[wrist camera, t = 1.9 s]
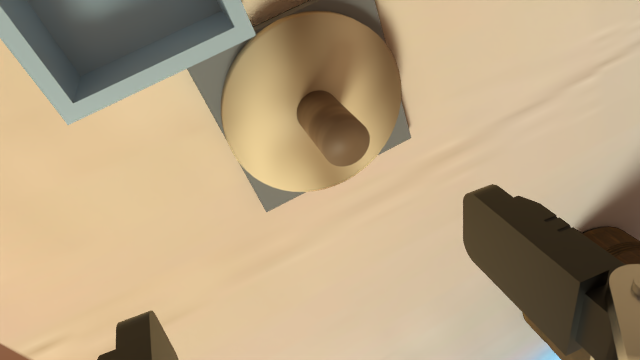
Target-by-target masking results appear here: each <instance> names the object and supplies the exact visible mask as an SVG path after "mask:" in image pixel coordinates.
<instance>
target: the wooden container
mask: <svg viewBox="0 0 640 360" xmlns="http://www.w3.org/2000/svg"><path fill="white" fill-rule="evenodd" d="M583 235H585V236H586V237H587V238H589V239H590V240H592V241H593V242H594V243H596V244H597V245H599V246H600V247H601V248H603V249H604V250H606V251H607V252H608V253H610V254H611V255H613V256H614V257H615V258H617V259H618V260H620V261H621V262H622V263H624V264H626V265H629V264H640V241H638V240H637V239H635V238H634V237H632V236H631V235H629V234H627V233H626V232H624V231H623V230H621V229H619V228H615V227H602V228H597V229H593V230H590V231H587V232H585V233H583ZM523 316H524V319H525V321H526V322H527V323H528V324H529V325H530V326H531V328H532V329H533V330H534V331H535V332H536V333H537V334H538V335H539V336H540V337H541V338H542V339H543V340H544V341H545V342H546V343H547V344H548V345H549V346H550V348H551V349H552V350H553V351H554V352H555V353H556V354H557V355H558V356H559V358H560V359H561V360H590V357H591V355H590V354H589V353H588V352H587V351H586V350H585V349H584V348H582V349H580V350H578V351H575V352H573V353H571V354H569V355H567V356H565V355H564V354H563V353H562V352H561V351H560V350H559V349H558V347H557V346H556V345H555V344H554V343H553V342H552V341H551V340H550V339H549V338H548V337H547V336H546V335H545V334H544V333H543V332H542V331H541V330H540V329H539V328H538V327H537V326H536V325H535V324H534V323H533V322H532V321H531V320H530V319H529V318H528V317H527V316H526V315H525V314H524V313H523Z"/></svg>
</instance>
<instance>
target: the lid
mask: <svg viewBox="0 0 640 360" xmlns="http://www.w3.org/2000/svg"><path fill="white" fill-rule="evenodd" d="M400 105H401V79H400V74H399V70H398V67H397V64H396V61H395V59H394V57H393V55H392V53H391V51H390V49H389V48H388V46H387V45H386V43H385V42H384V41H383V40H382V39H381V38H380V37H379V36H378V35H377V33H375V32H374V31H373V30H371V29H370V28H369V27H367V26H366V25H364V24H362V23H360V22H358V21H356V20H355V19H353V18H351V17H348V16H345V15H342V14H340V13H335V12H330V11H307V12H300V13H296V14H292V15H289V16H286V17H284V18H281V19H279V20H277V21H275V22H273V23H271V24H270V25H268V26H266V27H265V28H264V29H262V30H261V31H260V32H258V33H257V34H256V36H254V37H252V38H251V39H250V40H249V41H248V42H247V43H246V44H245V46H244V47H243V48H242V50H241V51H240V52H239V53H238V55H237V56H236V58H235V60H234V61H233V63H232V65H231V67H230V69H229V71H228V74H227V76H226V79H225V82H224V86H223V89H222V96H221V120H222V126H223V130H224V133H225V136H226V139H227V141H228V144H229V146H230V148H231V150H232V152H233V154H234V156H235V157H236V159H237V160H238V162H239V163H240V164H241V165H242V167H243V168H244V169H245V170H246V171H247V172H248V173H250V174H251V175H252V176H253V177H254V178H256V179H258V180H259V181H261V182H262V183H264V184H267V185H269V186H271V187H274V188H277V189H281V190H285V191H292V192H310V191H317V190H322V189H326V188H329V187H332V186H335V185H337V184H340V183H342V182H344V181H346V180H348V179H349V178H351V177H353V176H355V175H356V174H357V173H359V172H360V171H361V170H363V169H364V168H365V167H366V166H367V165H368V164H369V163H371V162H372V160H373V159H374V158H375V157H376V156H377V155H378V154H379V153H380V151H381V150H382V148H383V147H384V146H385V144H386V142H387V141H388V139H389V137H390V136H391V133H392V131H393V129H394V127H395V124H396V121H397V118H398V115H399V110H400Z"/></svg>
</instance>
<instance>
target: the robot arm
mask: <svg viewBox="0 0 640 360" xmlns="http://www.w3.org/2000/svg"><path fill="white" fill-rule="evenodd" d="M463 241H464V246H465V248H466V251H467V253H468V255H469V257H470V258H471V259H472V261H473V262H474V263H475V264H476V265H477V266H478V267H479V268H480V269H481V270H482V271H483V272H484V273H485V274H486V275H487V276H488V277H489V278H490V279H491V280H492V281H493V282H494V283H495V284H496V285H497V286H498V287H499V288H500V289H501V290H502V291H503V292H504V294H505V295H506V296H507V297H508V298H509V299H510V300H511V301H512V302H513V303H514V304H515V305H516V306H517V307H518V308H519V309H520V310H521V311H522V312H523V313H524V314H525V315H526V316H527V317H528V318H529V319H530V320H531V321H532V322H533V323H534V324H535V325H536V326H537V327H538V328H539V329H540V330H541V331H542V332H543V333H544V334H545V335H546V336H547V337H548V338H549V339H550V340H551V341H552V342H553V343H554V344H555V345H556V346H557V347H558V349H559V350H560V351H561V352H562V353H563V354H564V355H565V356H567V355H569V354H571V353H573V352H575V351H578V350H580V349H582V348H584V349H585V350H586V351H587V352H588V353H589V354H590V355H591V357H590V360H640V264H629V265H626V264H624V263H622V262H621V261H620V260H618V259H617V258H615V257H614V256H613V255H611V254H610V253H608V252H607V251H606V250H604V249H603V248H601V247H600V246H599V245H597V244H596V243H594V242H593V241H592V240H590V239H589V238H587V237H586V236H585V235H583V234H582V233H580V232H579V231H578V230H576V229H575V228H571V227H570V225H569V224H568V223H566V222H565V221H564V220H562V219H561V218H557V217H556V215H555V214H554V213H552V212H551V211H550V210H548V209H547V208H545V207H544V206H543V205H541V204H540V203H537V202H534V201H532V200H529V199H526V198H523V197H521V196H516V197H514V198H513V197H512V196H511V195H509V194H508V193H507V192H505V191H504V190H503V189H501V188H500V187H499V186H497V185H493V184H492V185H489V186H486V187H483V188H481V189H478V190H475V191H473V192H470V193H467V194H466V195H465V196H464V199H463ZM97 360H178V357H177V355H176V352H175V350H174V348H173V347H172V345H171V343H170V341H169V339H168V337H167V335H166V333H165V332H164V330H163V328H162V326H161V324H160V322H159V320H158V318H157V317H156V315H155V313H154V312H153V311H149V312H146V313H143V314H141V315H138V316H135V317H133V318H130V319H127V320H125V321H122V322H119V323H118V324H117V327H116V349H115V350H113V351H110V352H107V353H105V354H102V355H100V356H99V357H98V359H97Z"/></svg>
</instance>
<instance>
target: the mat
mask: <svg viewBox="0 0 640 360" xmlns="http://www.w3.org/2000/svg"><path fill="white" fill-rule="evenodd" d="M307 11H330V12H335V13H340V14H342V15H345V16H348V17H351V18H353V19H355V20H356V21H358V22H360V23H362V24H364V25H366V26H367V27H369V28H370V29H371V30H373V31H374V32H375V33H377V35H378V36H379V37H380V38H381V39H382V40H383V41H384V42H385V38H384V34H383V30H382V27H381V23H380V19H379V15H378V12H377V8H376V4H375V0H310V1H307V2H305V3H303V4H301V5H299V6H297V7H295V8H293V9H291V10H288V11H286V12H284V13H282V14H280V15H278V16H276V17H274V18H272V19H269V20H267V21H265V22H263V23H261V24H259V25H257V26H255V27H253V29H254V31H255V34H257V33H258V32H260V31H261V30H262V29H264V28H265V27H266V26H268V25H270V24H271V23H273V22H275V21H277V20H279V19H281V18H284V17H286V16H289V15H292V14H296V13H300V12H307ZM250 39H251V38H250ZM250 39H248V40H246V41H244V42H242V43H240V44H237V45H235V46H233V47H231V48H229V49H227V50H225V51H223V52H221V53H218V54H216V55H214V56H212V57H210V58H208V59H206V60H204V61H202V62H200V63H197V64H195V65H193V66H191V67H189V68H187V70H188V71H189V73H190V75H191V77H192V79H193V80H194V82H195V84H196V86H197V88H198V89H199V91H200V93H201V95H202V97H203V98H204V100H205V102H206V104H207V106H208V107H209V109H210V111H211V113H212V115H213V116H214V118H215V120H216V122H217V124H218V126H219V127H220V129H221V131H222V133H223V135H224V136H225V133H224V130H223V126H222V120H221V96H222V89H223V86H224V82H225V79H226V76H227V74H228V71H229V69H230V67H231V65H232V63H233V61H234V60H235V58H236V56H237V55H238V53H239V52H240V51H241V50H242V48H243V47H244V46H245V44H246V43H247V42H248V41H249V40H250ZM385 43H386V42H385ZM225 138H226V136H225ZM410 138H411V135H410V132H409V128H408V124H407V120H406V117H405V113H404V109H403V105H402V102H401V105H400V110H399V115H398V118H397V121H396V124H395V127H394V129H393V131H392V133H391V136H390V137H389V139H388V141H387V142H386V144H385V146H384V147H383V148H382V150H381V151H380V153H379V154H381V153H383V152H385V151H387V150H389V149H391V148H393V147H395V146H397V145H399V144H400V143H402V142H404V141H406V140H408V139H410ZM226 140H227V139H226ZM227 142H228V141H227ZM379 154H378V155H379ZM240 165H241V164H240ZM241 167H242V165H241ZM242 169H243V171H244V173H245V174H246V176H247V178H248V180H249V182H250V183H251V185H252V187H253V189H254V191H255V192H256V194H257V196H258V198H259V200H260V201H261V203H262V205H263V207H264V209H265V210H266V212H268V211H270V210H272V209H274V208H276V207H278V206H280V205H282V204H284V203H286V202H288V201H290V200H291V199H293V198H295V197H297V196H299V195H301V194H303V193H305V192H292V191H285V190H281V189H277V188H274V187H271V186H269V185H267V184H264V183H262V182H261V181H259V180H258V179H256V178H254V177H253V176H252V175H251V174H250V173H248V172H247V171H246V170H245V169H244V168H243V167H242Z"/></svg>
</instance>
